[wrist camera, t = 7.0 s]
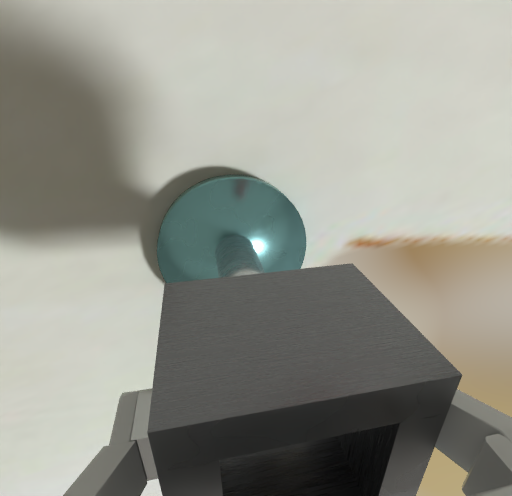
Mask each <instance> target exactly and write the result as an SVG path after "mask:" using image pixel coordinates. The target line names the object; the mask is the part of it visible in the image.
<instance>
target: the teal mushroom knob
mask: <svg viewBox="0 0 512 496" xmlns="http://www.w3.org/2000/svg"><path fill="white" fill-rule="evenodd" d="M305 251H306V234H305V228H304V225H303V221H302V219H301V217H300V215H299V213H298V211H297V210H296V208H295V207H294V205H293V204H292V203H291V202H290V201H289V200H288V198H287V197H286V196H285V195H284V194H283V193H281V192H280V191H279V190H278V189H277V188H275V187H274V186H272V185H271V184H269V183H267V182H265V181H263V180H260V179H257V178H254V177H250V176H244V175H223V176H217V177H213V178H209V179H207V180H204V181H202V182H199V183H198V184H196V185H194V186H192V187H190V188H189V189H188V190H186V191H185V192H184V193H182V194H181V195H180V196H179V197H178V198H177V199H176V200H175V202H174V203H173V204H172V205H171V207H170V208H169V210H168V211H167V213H166V215H165V217H164V219H163V222H162V225H161V228H160V233H159V237H158V243H157V257H158V263H159V268H160V271H161V273H162V276H163V278H164V280H165V281H166V283H175V282H184V281H193V280H203V279H212V278H221V277H231V276H240V275H249V274H259V273H268V272H277V271H287V270H296V269H300V268H301V266H302V263H303V260H304V256H305Z"/></svg>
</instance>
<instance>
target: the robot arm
mask: <svg viewBox="0 0 512 496" xmlns="http://www.w3.org/2000/svg"><path fill="white" fill-rule="evenodd" d="M151 397H152V389H145V390H140V391H133V392H126V393H122V395H121V397H120V399H119V403H118V408H117V412H116V417H115V421H114V425H113V430H112V434H111V439H110V443H109V446H105V447H103V448H102V449H101V450H100V452H99V453H98V454H97V455H96V456H95V458H94V459H93V460H92V461H91V462H90V464H89V465H88V466H87V467H86V468H85V470H84V471H83V472H82V473H81V474H80V476H79V477H78V478H77V479H76V480H75V482H74V483H73V484H72V485H71V487H70V488H69V489H68V490H67V491H66V493H65V494H64V495H63V496H140V495H141V493H142V492H143V490H144V488H145V486H146V484H147V481H149V480H153V479H157V478H158V475H157V470H156V466H155V462H154V458H153V454H152V450H151V446H150V442H149V438H148V434H147V431H148V422H149V414H150V405H151ZM435 447H436V448H437V449H438V450H440V451H441V452H442V453H444V454H445V455H446V456H447V457H449V458H450V459H451V460H452V461H454V462H455V463H456V464H458V465H459V466H460V467H462V468H463V469H464V470H466V471H467V472H468V475H467V477H466V479H465V481H464V483H463V486H462V490H463V492H464V494H465V495H466V496H512V417H510V416H508V415H506V414H504V413H502V412H500V411H498V410H496V409H494V408H492V407H490V406H488V405H486V404H485V403H483V402H481V401H479V400H477V399H475V398H473V397H471V396H469V395H467V394H465V393H463V392H461V391H460V390H458V389H457V390H456V392H455V395H454V398H453V400H452V403H451V405H450V408H449V411H448V413H447V416H446V418H445V421H444V424H443V426H442V429H441V431H440V434H439V437H438V439H437V442H436V444H435Z"/></svg>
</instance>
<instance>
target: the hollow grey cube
mask: <svg viewBox="0 0 512 496" xmlns="http://www.w3.org/2000/svg"><path fill="white" fill-rule="evenodd" d="M461 377H462V374H461V373H460V372H459V371H458V370H457V369H456V368H455V367H454V366H453V365H452V364H451V363H450V362H449V361H448V360H447V359H446V358H445V357H444V356H443V355H442V354H441V353H440V352H439V351H438V350H437V349H436V348H435V347H434V346H433V345H432V344H431V343H430V342H429V341H428V340H427V339H426V338H425V337H424V336H423V335H422V334H421V333H420V331H418V329H417V328H416V327H415V326H414V325H413V324H412V323H411V322H410V321H409V320H408V319H407V318H406V317H405V316H404V315H403V314H402V313H401V312H400V311H399V310H398V309H397V308H396V307H395V306H394V305H393V304H392V303H391V302H390V301H389V300H388V299H387V298H386V297H385V296H384V295H383V294H382V293H381V292H380V291H379V290H378V289H377V288H376V287H375V286H374V285H373V284H372V283H371V282H370V281H369V280H368V279H367V278H366V277H365V276H364V275H363V274H362V273H361V272H360V271H359V270H358V269H357V268H356V267H355V266H354V265H353V264H343V265H334V266H324V267H315V268H305V269H296V270H287V271H277V272H268V273H259V274H249V275H240V276H231V277H221V278H212V279H203V280H193V281H184V282H175V283H165V286H164V294H163V303H162V311H161V320H160V328H159V337H158V345H157V354H156V363H155V371H154V380H153V388H152V397H151V405H150V414H149V422H148V431H147V434H148V438H149V442H150V446H151V450H152V454H153V458H154V462H155V466H156V470H157V475H158V479H159V483H160V487H161V491H162V495H163V496H416V494H417V491H418V488H419V486H420V483H421V481H422V478H423V475H424V473H425V470H426V468H427V465H428V462H429V460H430V457H431V455H432V452H433V449H434V447H435V444H436V442H437V439H438V437H439V434H440V431H441V429H442V426H443V424H444V421H445V418H446V416H447V413H448V411H449V408H450V405H451V403H452V400H453V398H454V395H455V392H456V390H457V387H458V385H459V382H460V379H461Z"/></svg>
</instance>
